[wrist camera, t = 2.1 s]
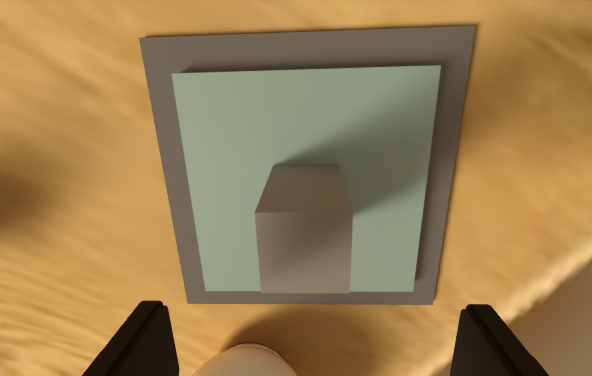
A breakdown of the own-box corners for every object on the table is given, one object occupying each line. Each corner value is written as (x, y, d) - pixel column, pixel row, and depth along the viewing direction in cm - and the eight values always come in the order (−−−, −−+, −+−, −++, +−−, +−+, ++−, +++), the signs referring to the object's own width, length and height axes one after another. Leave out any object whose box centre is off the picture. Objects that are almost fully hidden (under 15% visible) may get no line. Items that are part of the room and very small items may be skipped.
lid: (178, 73, 18) (89, 72, 11) (434, 65, 18) (525, 59, 10) (209, 282, 24) (163, 379, 16) (408, 282, 23) (457, 384, 15)
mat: (142, 38, 18) (139, 37, 18) (472, 26, 17) (475, 25, 17) (189, 300, 25) (187, 303, 24) (430, 301, 24) (432, 304, 24)
